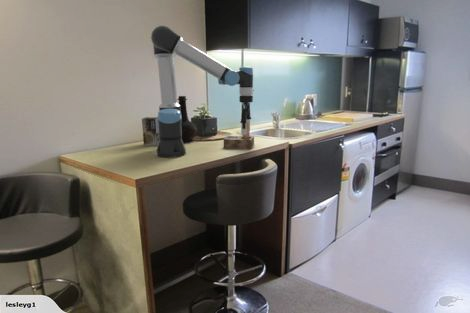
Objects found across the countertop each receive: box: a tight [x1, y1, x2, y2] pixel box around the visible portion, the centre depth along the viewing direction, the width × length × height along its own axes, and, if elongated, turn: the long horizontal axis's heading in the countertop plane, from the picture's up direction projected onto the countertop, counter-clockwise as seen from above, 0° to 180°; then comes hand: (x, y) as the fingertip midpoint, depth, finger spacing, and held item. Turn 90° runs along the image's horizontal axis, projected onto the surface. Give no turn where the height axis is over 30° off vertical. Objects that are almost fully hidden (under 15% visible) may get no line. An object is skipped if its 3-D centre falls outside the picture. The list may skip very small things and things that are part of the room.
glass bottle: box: [177, 95, 198, 143], centre depth 215 cm, size 18×18×28 cm
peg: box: [242, 121, 251, 139], centre depth 199 cm, size 4×4×14 cm
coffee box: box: [141, 116, 159, 147], centre depth 205 cm, size 9×6×16 cm
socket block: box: [223, 134, 255, 150], centre depth 201 cm, size 16×12×5 cm
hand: (245, 132), depth 199 cm, fingers open, 13 cm apart
